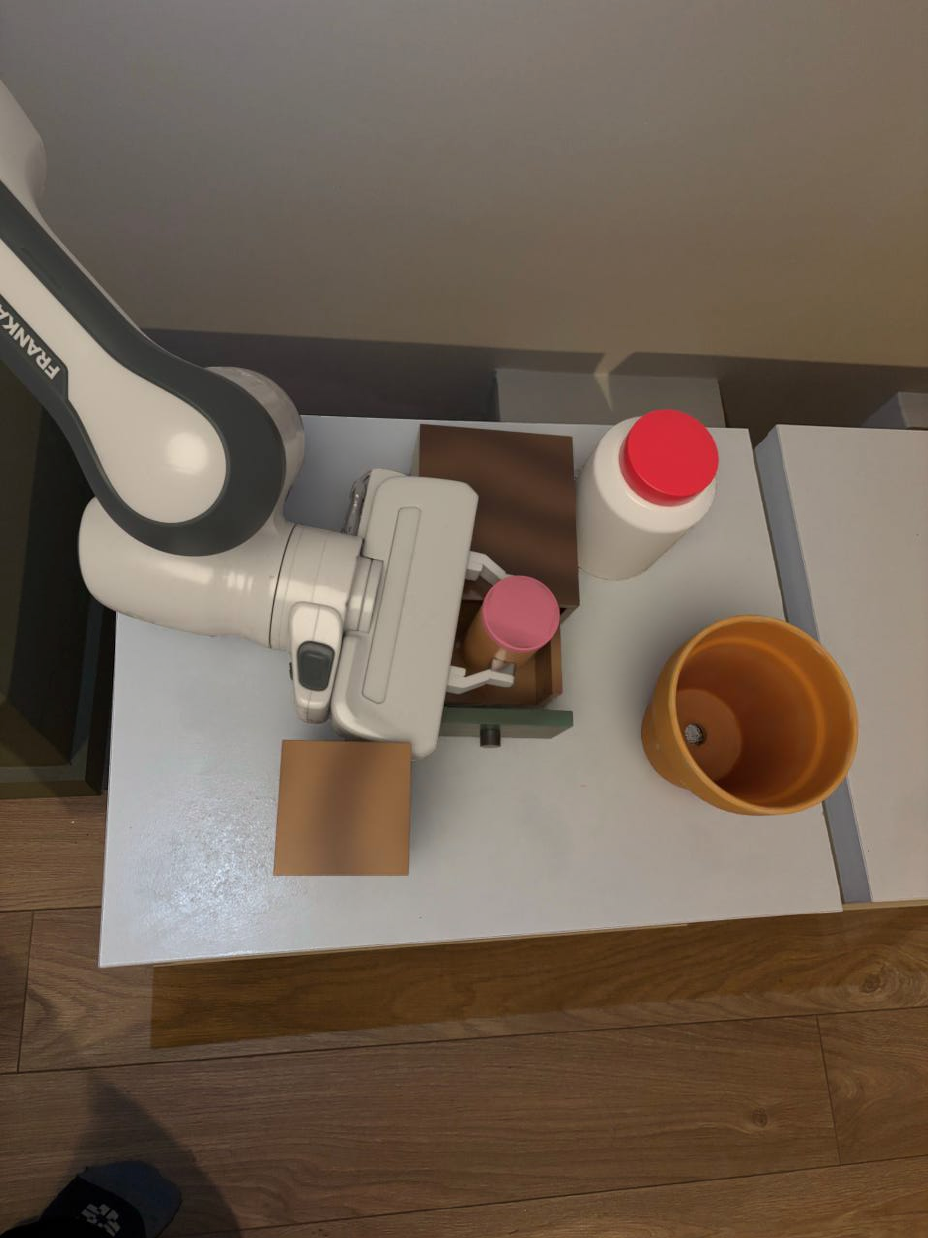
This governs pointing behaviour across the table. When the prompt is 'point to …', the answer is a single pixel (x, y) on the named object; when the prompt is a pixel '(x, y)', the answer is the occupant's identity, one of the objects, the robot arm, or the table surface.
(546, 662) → the drawer
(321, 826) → the stand
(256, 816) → the table surface
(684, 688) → the flower pot
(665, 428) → the pill bottle
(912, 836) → the table surface
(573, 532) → the cabinet
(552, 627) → the pink-rimmed cylinder
